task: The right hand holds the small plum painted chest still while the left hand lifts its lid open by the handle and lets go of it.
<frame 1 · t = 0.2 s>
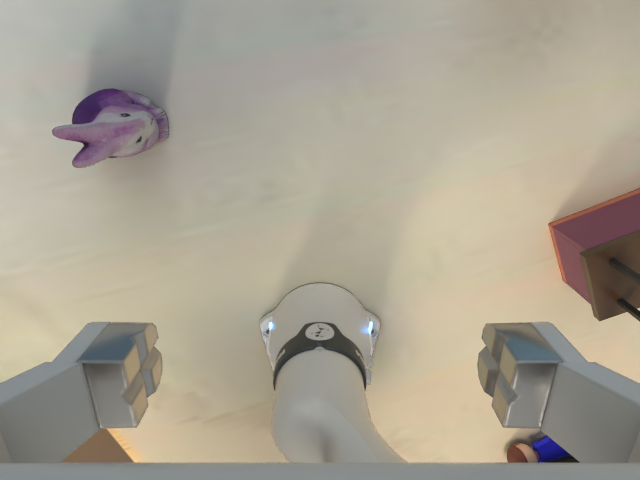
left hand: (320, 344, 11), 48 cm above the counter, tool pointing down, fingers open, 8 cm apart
chest: (604, 234, 61), on the counter
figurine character: (544, 439, 76), on the counter
figurine: (135, 119, 55), on the counter
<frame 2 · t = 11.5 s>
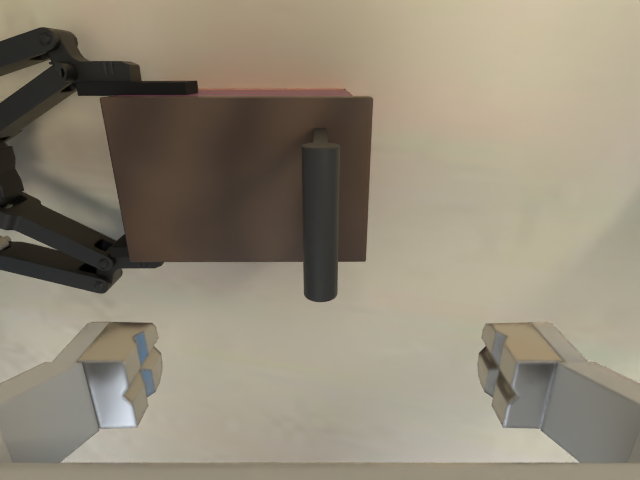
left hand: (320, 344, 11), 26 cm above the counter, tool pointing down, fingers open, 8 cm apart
right hand: (201, 171, 28), fingers closed on chest, 10 cm apart
chest: (258, 153, 35), on the counter, touching right hand
lid: (232, 201, 22), point 14 cm above the counter, hinge at 0.0°
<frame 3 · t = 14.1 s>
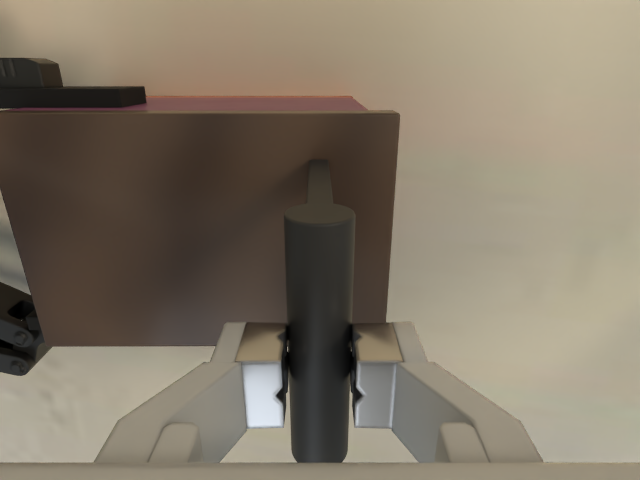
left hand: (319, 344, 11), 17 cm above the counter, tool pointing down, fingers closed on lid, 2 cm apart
chest: (237, 179, 27), on the counter, touching right hand
lid: (179, 279, 14), point 14 cm above the counter, hinge at 0.1°, touching left hand
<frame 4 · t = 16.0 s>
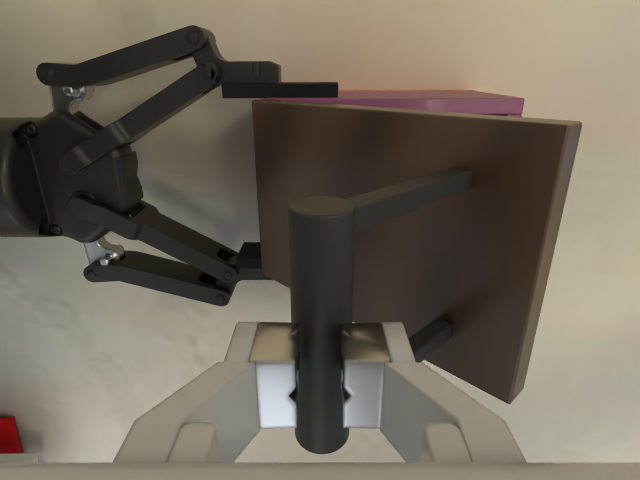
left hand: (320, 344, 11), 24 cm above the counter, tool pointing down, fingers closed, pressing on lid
right hand: (336, 178, 27), fingers closed on chest, 10 cm apart
chest: (371, 157, 33), on the counter, touching right hand
lid: (305, 246, 17), point 18 cm above the counter, hinge at 45.3°, touching left hand
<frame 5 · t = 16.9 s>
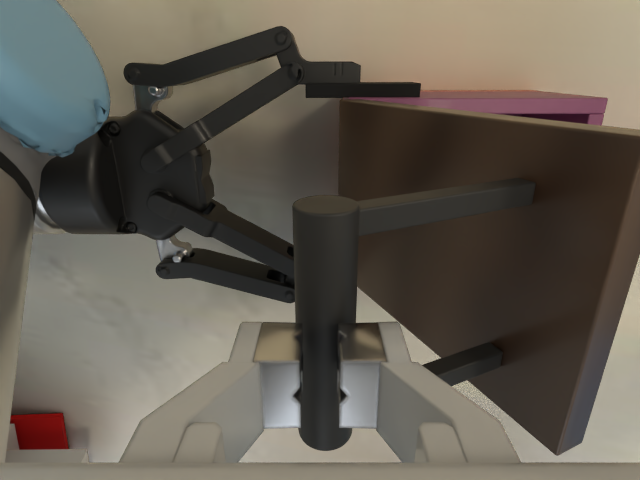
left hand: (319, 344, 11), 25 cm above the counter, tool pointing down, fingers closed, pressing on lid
right hand: (408, 177, 27), fingers closed on chest, 10 cm apart
chest: (431, 157, 33), on the counter, touching right hand
lid: (356, 246, 17), point 18 cm above the counter, hinge at 63.4°, touching left hand
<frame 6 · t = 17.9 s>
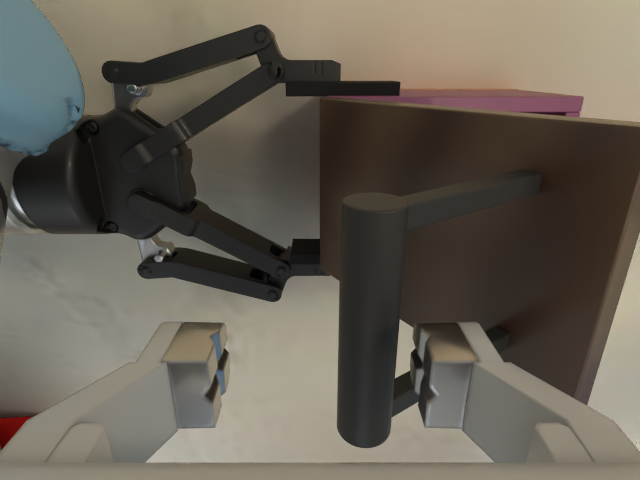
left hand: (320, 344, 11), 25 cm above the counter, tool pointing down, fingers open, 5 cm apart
right hand: (390, 175, 27), fingers closed on chest, 10 cm apart
chest: (413, 155, 34), on the counter, touching right hand
lid: (361, 243, 17), point 18 cm above the counter, hinge at 55.5°
when the right hand's fingers open (7 cm above the counter, at t = 21.0 s): chest stays where it is, on the counter.
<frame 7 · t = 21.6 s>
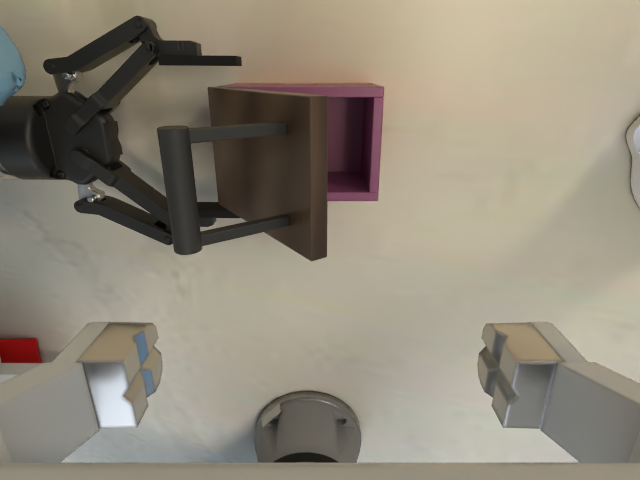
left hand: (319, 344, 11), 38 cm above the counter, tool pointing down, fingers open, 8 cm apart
right hand: (244, 140, 39), fingers open, 13 cm apart
chest: (304, 132, 46), on the counter
lid: (211, 169, 29), point 18 cm above the counter, hinge at 54.9°
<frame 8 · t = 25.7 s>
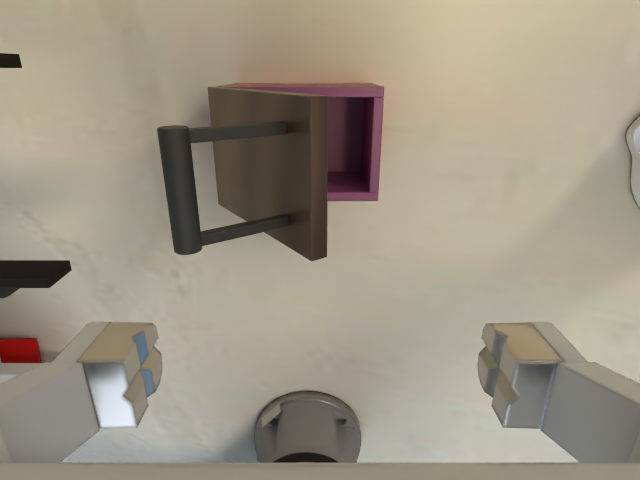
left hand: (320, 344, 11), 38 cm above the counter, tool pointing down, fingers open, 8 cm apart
chest: (304, 132, 46), on the counter
lid: (211, 169, 29), point 18 cm above the counter, hinge at 54.9°
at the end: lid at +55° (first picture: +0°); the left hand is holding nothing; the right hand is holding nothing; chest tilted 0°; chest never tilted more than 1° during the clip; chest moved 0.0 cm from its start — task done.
